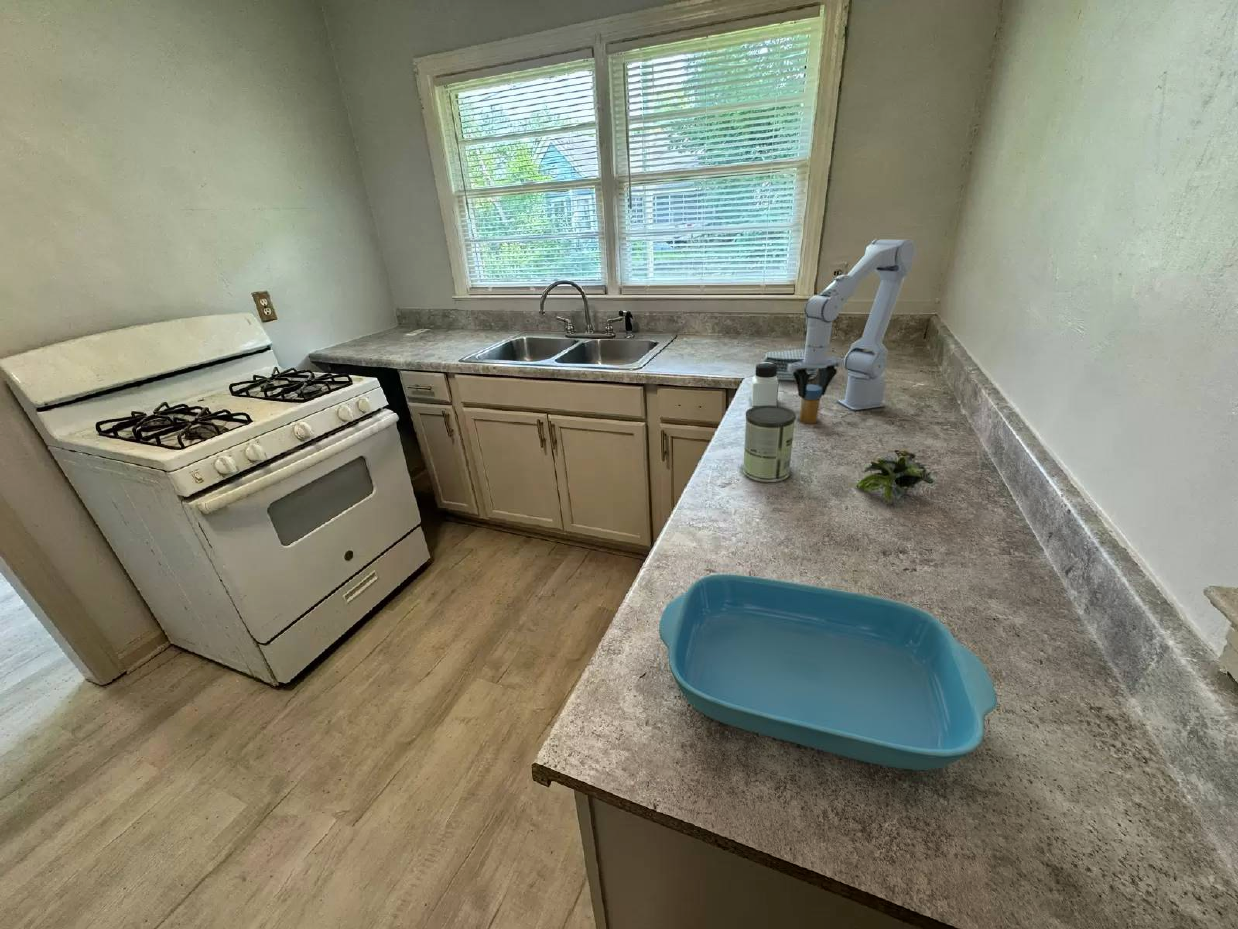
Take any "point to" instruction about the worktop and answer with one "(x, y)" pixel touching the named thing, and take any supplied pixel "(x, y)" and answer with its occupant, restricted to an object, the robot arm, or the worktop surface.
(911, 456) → the green leafy plant
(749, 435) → the coffee can
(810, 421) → the honey jar
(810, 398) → the jar lid
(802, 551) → the worktop surface
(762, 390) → the medicine bottle
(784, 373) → the towel
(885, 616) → the casserole dish
